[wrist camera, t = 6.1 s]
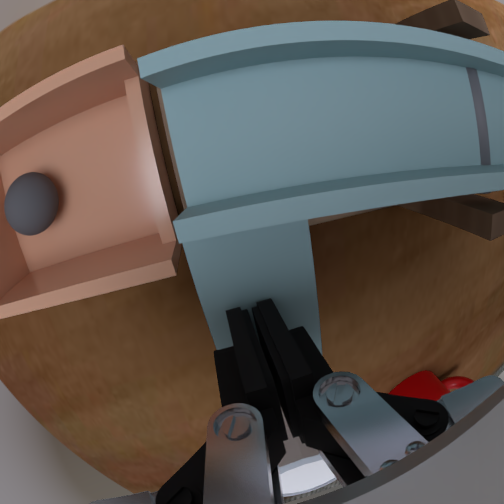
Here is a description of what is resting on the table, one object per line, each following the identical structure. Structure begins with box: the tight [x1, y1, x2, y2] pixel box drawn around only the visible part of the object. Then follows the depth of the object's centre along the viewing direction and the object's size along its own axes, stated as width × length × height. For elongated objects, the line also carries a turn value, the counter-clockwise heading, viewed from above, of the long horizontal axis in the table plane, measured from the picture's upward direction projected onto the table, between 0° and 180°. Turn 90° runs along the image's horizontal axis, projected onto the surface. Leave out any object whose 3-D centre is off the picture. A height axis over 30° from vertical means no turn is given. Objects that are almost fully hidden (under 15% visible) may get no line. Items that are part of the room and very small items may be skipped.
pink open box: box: [0, 45, 182, 319], centre depth 10 cm, size 10×8×5 cm
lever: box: [137, 21, 504, 354], centre depth 7 cm, size 22×13×4 cm, turn 101°
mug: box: [389, 371, 475, 401], centre depth 20 cm, size 8×12×8 cm, turn 105°
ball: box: [4, 172, 59, 236], centre depth 10 cm, size 3×3×3 cm
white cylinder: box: [278, 408, 337, 497], centre depth 16 cm, size 7×7×7 cm
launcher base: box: [156, 0, 504, 241], centre depth 10 cm, size 23×10×8 cm, turn 102°
